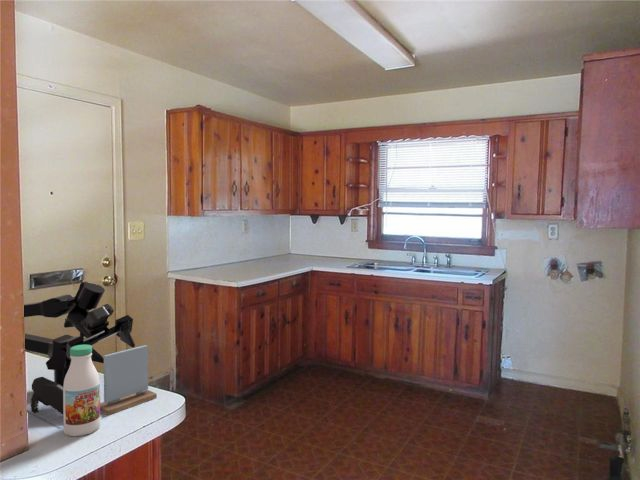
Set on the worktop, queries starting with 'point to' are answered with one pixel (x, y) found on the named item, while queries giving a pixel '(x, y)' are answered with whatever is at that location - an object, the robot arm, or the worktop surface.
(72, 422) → the milk bottle
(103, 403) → the board
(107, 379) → the flap door
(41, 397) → the gun
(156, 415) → the worktop surface
